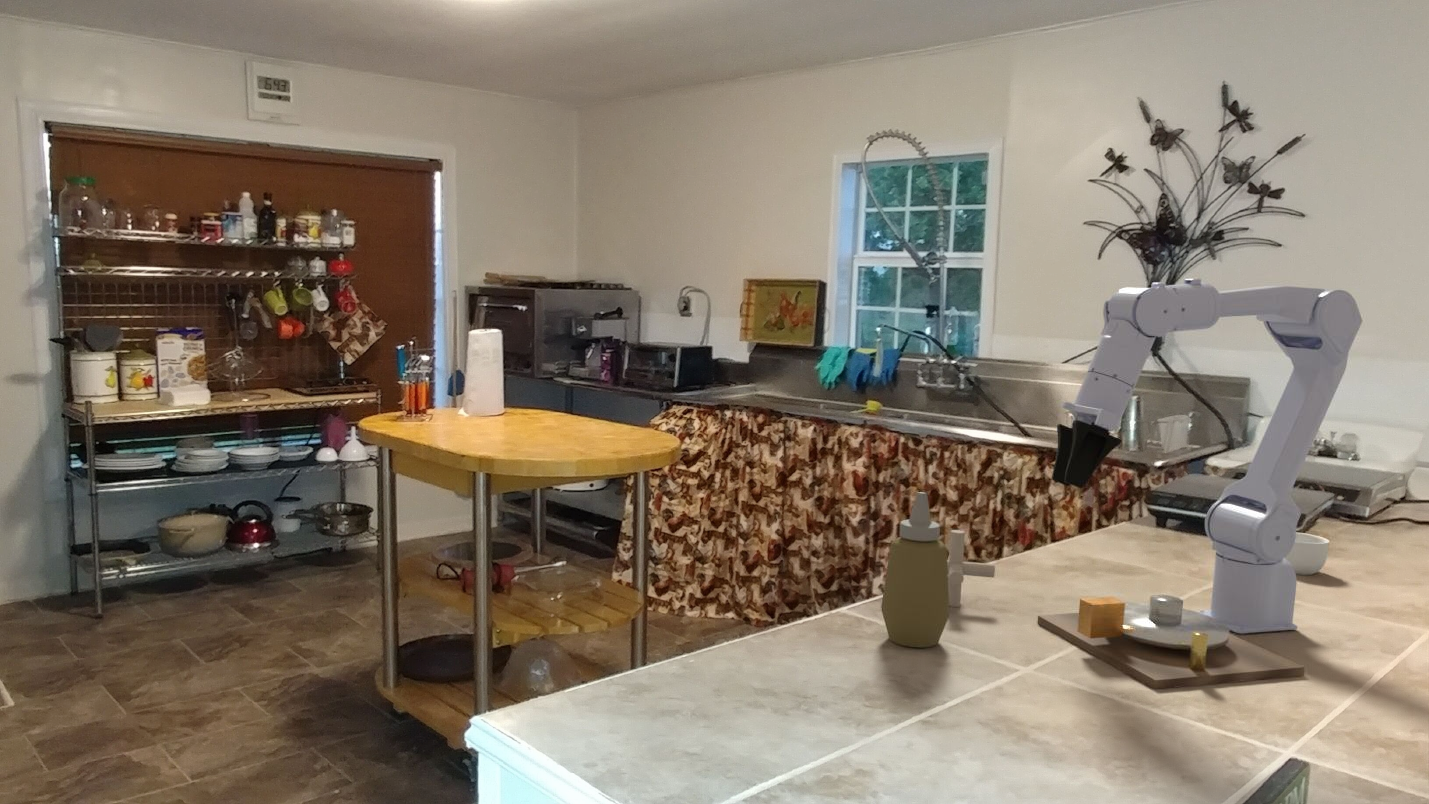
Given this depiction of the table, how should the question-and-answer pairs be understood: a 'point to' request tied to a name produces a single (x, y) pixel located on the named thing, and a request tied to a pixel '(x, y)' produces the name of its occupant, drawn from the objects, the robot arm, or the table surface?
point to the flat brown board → (1176, 658)
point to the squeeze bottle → (916, 581)
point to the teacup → (1308, 553)
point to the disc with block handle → (1149, 622)
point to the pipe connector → (962, 567)
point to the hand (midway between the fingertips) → (1066, 484)
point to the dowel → (1198, 651)
